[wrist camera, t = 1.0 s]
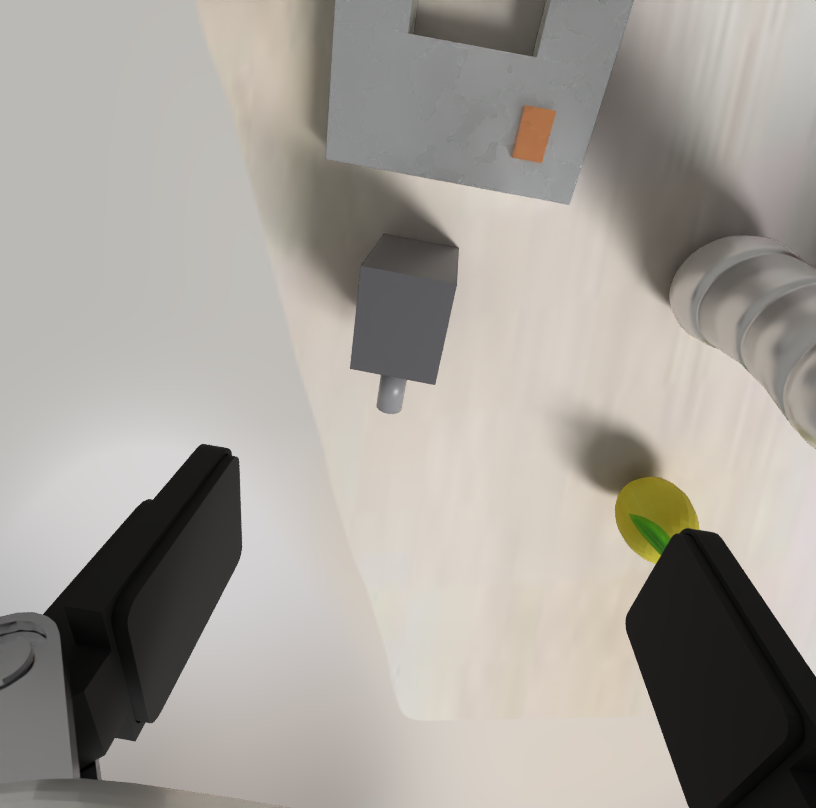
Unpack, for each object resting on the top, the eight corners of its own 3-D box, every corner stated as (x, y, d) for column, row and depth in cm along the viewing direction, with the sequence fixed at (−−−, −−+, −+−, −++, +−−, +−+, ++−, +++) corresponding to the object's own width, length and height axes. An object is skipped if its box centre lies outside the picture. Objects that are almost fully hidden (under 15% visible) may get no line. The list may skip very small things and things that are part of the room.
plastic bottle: (675, 225, 29) (979, 375, 12) (793, 229, 28) (1288, 393, 11) (646, 324, 32) (850, 553, 15) (751, 330, 32) (1085, 574, 15)
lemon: (603, 453, 38) (643, 550, 29) (682, 450, 37) (747, 549, 29) (597, 515, 41) (631, 618, 33) (669, 514, 40) (723, 619, 32)
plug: (383, 233, 31) (360, 265, 24) (458, 248, 31) (456, 283, 24) (368, 356, 36) (345, 411, 29) (433, 368, 36) (425, 427, 29)
